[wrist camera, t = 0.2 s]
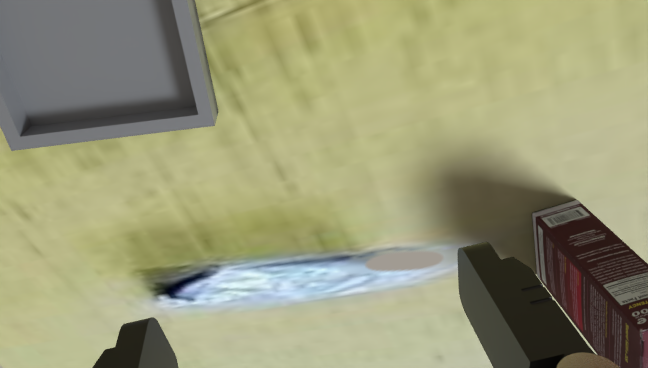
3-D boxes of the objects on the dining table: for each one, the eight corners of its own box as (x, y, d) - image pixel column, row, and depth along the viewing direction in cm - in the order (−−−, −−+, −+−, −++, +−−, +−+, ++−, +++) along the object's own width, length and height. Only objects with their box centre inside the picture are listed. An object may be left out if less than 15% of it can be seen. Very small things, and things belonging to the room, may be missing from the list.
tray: (-63, -80, 31) (-94, -80, 29) (172, -105, 32) (163, -107, 29) (28, 134, 38) (11, 150, 36) (218, 111, 39) (214, 125, 36)
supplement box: (580, 263, 51) (696, 393, 37) (535, 276, 51) (633, 410, 37) (579, 195, 47) (709, 314, 33) (530, 210, 47) (638, 334, 33)
